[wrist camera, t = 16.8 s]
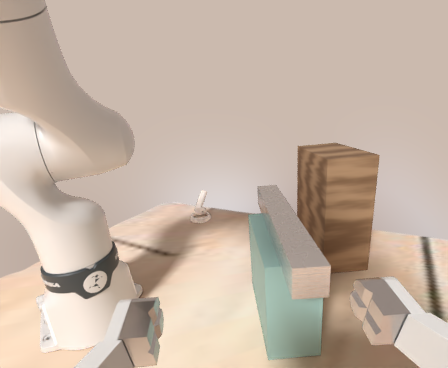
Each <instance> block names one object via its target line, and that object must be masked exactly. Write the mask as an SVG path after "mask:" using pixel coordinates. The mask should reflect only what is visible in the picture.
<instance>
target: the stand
mask: <svg viewBox="0 0 448 368" xmlns="http://www.w3.org/2000/svg"><path fill="white" fill-rule="evenodd" d="M378 165H379V155H377V154H374V153H370V152H367V151H363V150H359V149H356V148H352V147H349V146H345V145H341V144H338V143H329V144H318V145H306V146H298V193H297V195H298V199H297V200H298V201H297V202H298V203H297V204H298V205H297V208H298V209H297V210H298V211H297V217H298V218H299V219H300V221H301V222H302V224H303V225H304V227H305V228H306V230H307V231H308V233H309V234H310V236H311V237H312V239H313V240H314V242H315V243H316V245H317V246H318V248H319V249H320V251H321V252H322V254H323V255H324V256H325V258H326V259H327V261H328V262H329V264H330V265H331V273H337V272H348V271H359V270H367V269H368V259H369V250H370V240H371V231H372V221H373V212H374V203H375V202H374V201H375V193H376V184H377V173H378Z"/></svg>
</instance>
